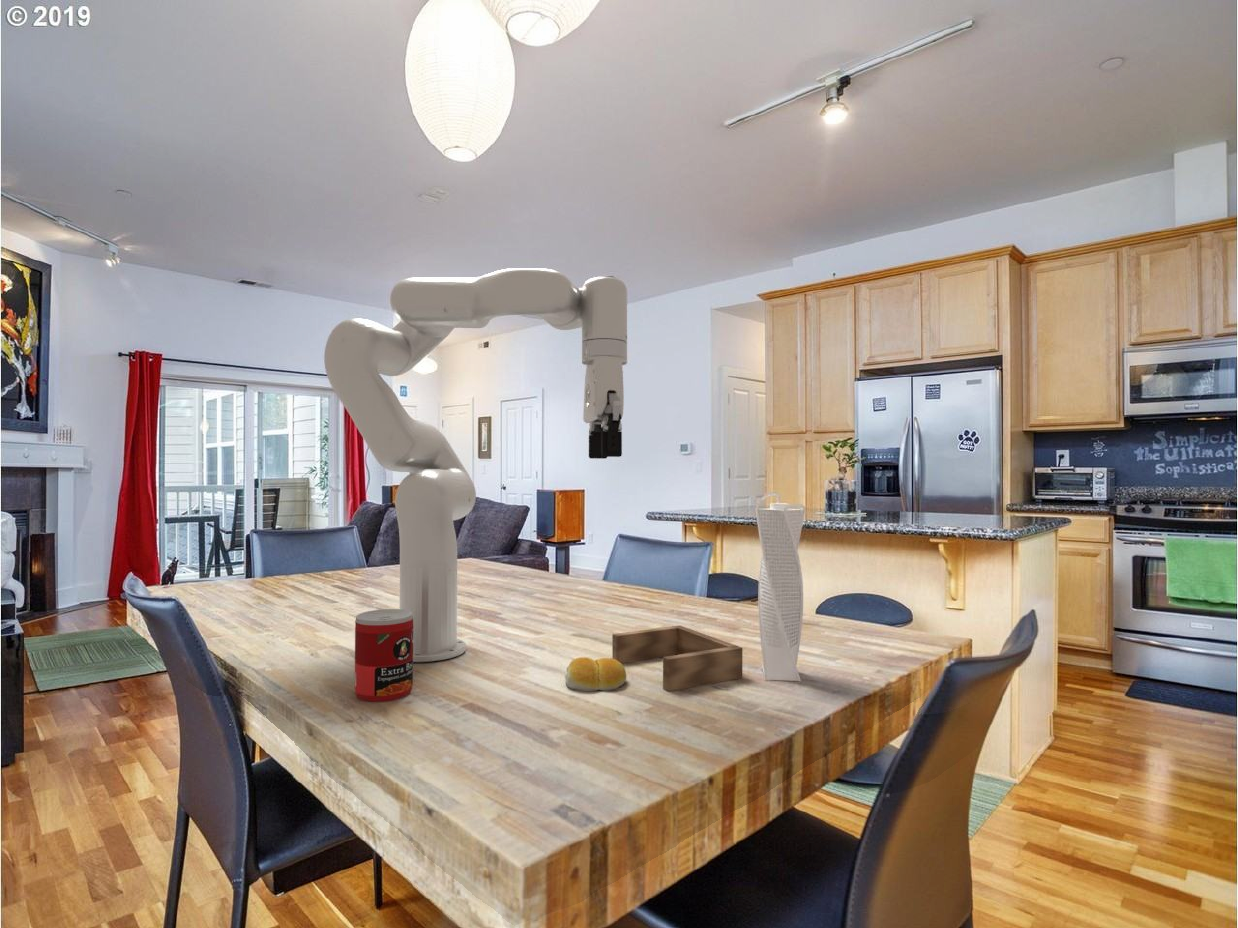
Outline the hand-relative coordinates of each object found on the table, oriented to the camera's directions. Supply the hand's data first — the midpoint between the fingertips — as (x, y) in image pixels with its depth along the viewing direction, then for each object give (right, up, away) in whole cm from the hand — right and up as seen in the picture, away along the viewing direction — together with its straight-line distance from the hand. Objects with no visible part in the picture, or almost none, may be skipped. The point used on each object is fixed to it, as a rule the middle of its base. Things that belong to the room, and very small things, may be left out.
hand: (604, 457), depth 107 cm
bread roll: (-1, -34, -12) cm, 36 cm away
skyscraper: (+27, -34, -7) cm, 44 cm away
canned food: (-31, -33, -16) cm, 48 cm away
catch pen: (+11, -34, -5) cm, 35 cm away
